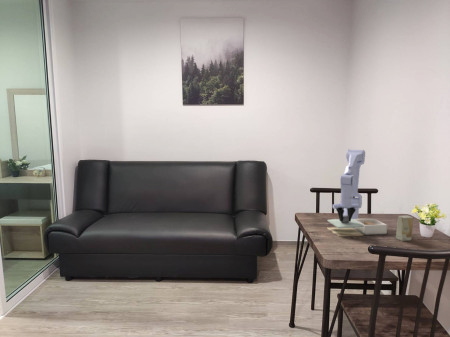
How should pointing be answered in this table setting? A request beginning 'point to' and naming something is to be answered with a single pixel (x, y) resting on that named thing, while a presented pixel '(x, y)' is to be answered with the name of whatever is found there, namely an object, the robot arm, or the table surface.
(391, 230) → the table surface
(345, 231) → the birch board
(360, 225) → the lid
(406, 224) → the skincare box
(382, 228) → the storage box
